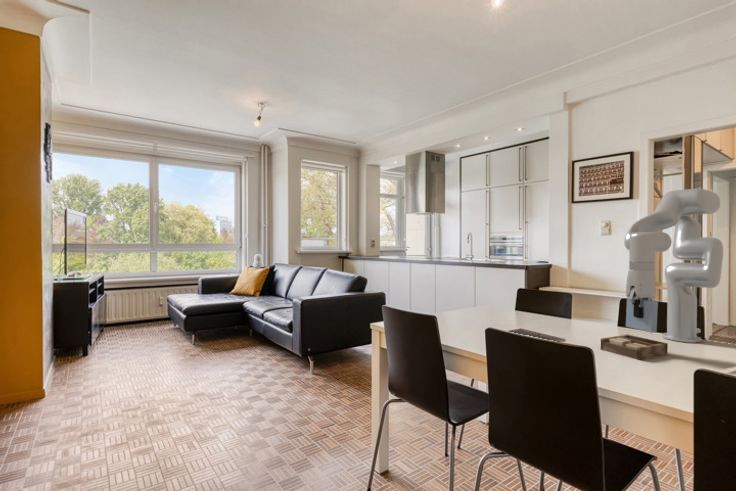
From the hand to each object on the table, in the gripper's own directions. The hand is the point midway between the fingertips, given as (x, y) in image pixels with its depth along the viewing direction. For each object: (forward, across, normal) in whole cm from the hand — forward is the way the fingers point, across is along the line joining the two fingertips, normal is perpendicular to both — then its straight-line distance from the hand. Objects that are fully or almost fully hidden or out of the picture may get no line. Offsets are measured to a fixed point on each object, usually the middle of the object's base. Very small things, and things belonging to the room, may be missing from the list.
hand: (641, 316), depth 142 cm
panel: (+5, 0, 0) cm, 5 cm away
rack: (+13, +5, 0) cm, 14 cm away
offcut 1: (+12, +7, -3) cm, 15 cm away
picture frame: (+14, +22, -31) cm, 41 cm away
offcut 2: (+12, +7, +3) cm, 15 cm away
